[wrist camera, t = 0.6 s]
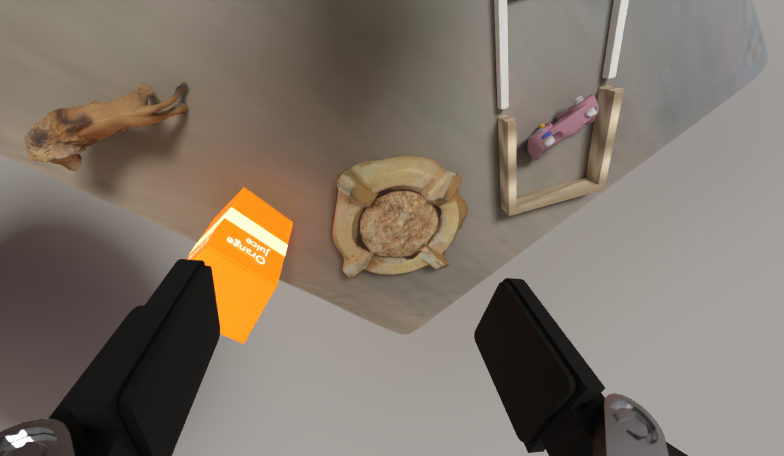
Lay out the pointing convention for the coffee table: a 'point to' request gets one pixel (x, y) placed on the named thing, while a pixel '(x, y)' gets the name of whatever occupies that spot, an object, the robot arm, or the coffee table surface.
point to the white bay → (502, 45)
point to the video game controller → (563, 126)
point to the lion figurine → (94, 125)
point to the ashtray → (396, 215)
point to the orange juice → (244, 260)
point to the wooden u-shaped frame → (591, 183)
